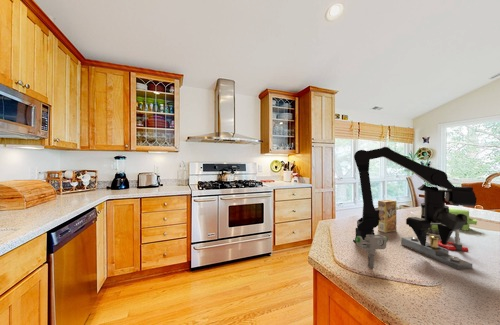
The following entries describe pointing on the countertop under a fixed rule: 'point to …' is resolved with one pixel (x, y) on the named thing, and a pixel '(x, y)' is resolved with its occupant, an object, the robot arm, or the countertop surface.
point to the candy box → (387, 216)
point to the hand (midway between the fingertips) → (433, 245)
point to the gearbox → (465, 212)
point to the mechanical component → (371, 245)
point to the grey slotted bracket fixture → (435, 253)
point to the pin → (434, 242)
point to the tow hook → (454, 244)
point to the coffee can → (433, 228)
